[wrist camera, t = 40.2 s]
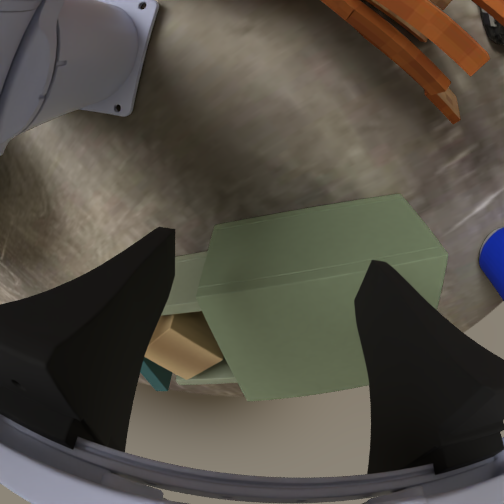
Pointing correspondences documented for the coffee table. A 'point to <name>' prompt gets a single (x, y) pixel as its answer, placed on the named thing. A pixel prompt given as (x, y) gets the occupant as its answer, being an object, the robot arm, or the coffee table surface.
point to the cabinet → (308, 290)
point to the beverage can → (494, 259)
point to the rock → (493, 27)
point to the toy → (423, 28)
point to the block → (184, 344)
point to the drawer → (185, 302)
